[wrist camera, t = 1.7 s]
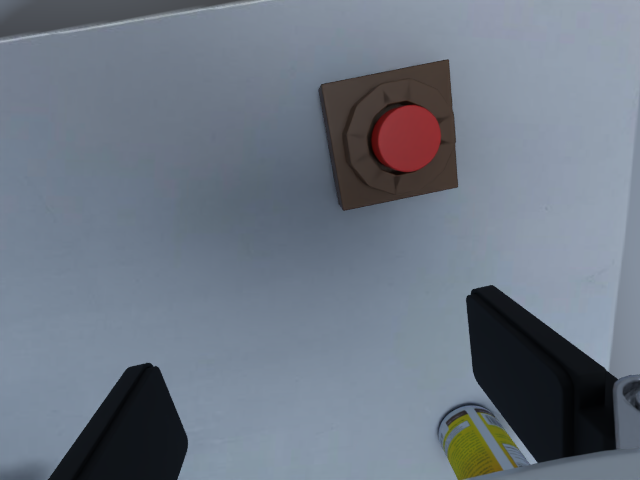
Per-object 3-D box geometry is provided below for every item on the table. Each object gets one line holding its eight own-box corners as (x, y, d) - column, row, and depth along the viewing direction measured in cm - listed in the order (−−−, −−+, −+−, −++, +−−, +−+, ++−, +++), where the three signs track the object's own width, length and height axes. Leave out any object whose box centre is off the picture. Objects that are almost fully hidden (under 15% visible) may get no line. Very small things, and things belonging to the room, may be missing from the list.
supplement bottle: (433, 452, 33) (493, 583, 24) (438, 404, 32) (504, 523, 22) (490, 447, 34) (572, 574, 24) (497, 399, 32) (588, 514, 22)
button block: (318, 88, 24) (323, 79, 20) (435, 65, 24) (463, 52, 20) (338, 204, 26) (347, 217, 22) (445, 183, 26) (471, 191, 22)
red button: (366, 113, 21) (373, 111, 19) (426, 101, 21) (438, 99, 19) (375, 174, 22) (382, 177, 20) (432, 163, 22) (444, 165, 20)
